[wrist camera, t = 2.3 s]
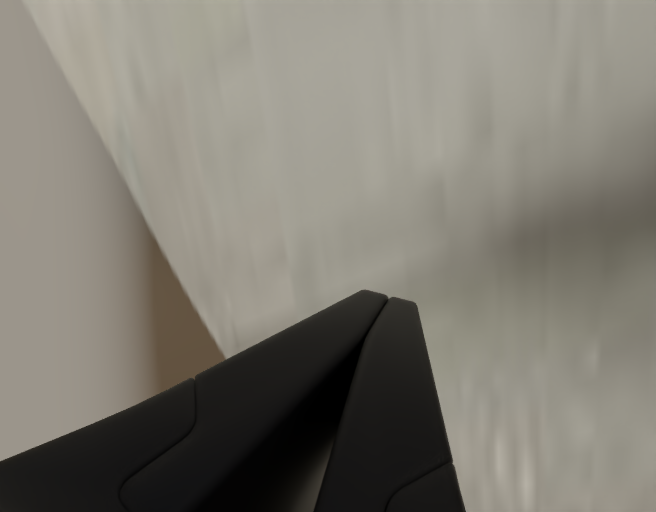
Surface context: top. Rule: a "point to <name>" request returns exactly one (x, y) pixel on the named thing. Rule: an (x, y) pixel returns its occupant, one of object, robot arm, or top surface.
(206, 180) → the top surface
